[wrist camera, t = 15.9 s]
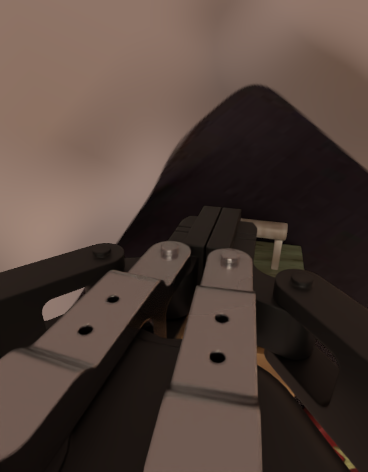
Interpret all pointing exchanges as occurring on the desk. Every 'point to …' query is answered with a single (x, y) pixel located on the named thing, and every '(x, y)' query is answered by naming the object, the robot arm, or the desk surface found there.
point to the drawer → (275, 249)
